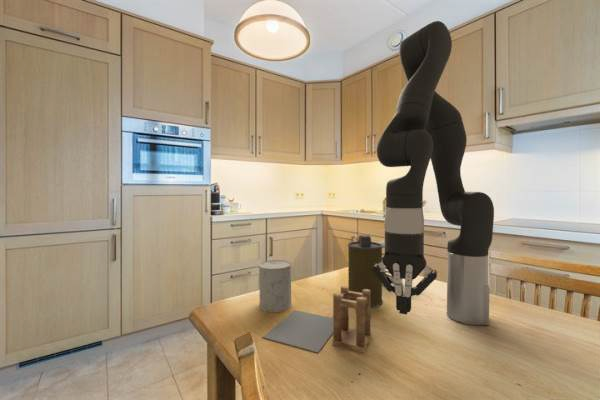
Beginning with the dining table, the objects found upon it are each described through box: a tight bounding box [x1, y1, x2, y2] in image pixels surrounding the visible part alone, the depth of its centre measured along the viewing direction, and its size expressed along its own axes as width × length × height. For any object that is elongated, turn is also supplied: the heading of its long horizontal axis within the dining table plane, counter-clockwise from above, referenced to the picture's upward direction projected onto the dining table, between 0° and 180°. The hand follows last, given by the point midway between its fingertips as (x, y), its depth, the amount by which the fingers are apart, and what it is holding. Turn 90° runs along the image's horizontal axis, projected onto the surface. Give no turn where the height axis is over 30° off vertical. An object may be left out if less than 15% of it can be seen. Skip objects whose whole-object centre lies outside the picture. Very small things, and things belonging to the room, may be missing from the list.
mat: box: [262, 309, 333, 354], centre depth 68 cm, size 14×16×1 cm
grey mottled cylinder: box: [258, 259, 293, 313], centre depth 82 cm, size 10×10×12 cm
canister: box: [347, 234, 384, 308], centre depth 85 cm, size 11×10×20 cm
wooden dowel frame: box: [331, 285, 372, 353], centre depth 63 cm, size 7×7×11 cm
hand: (403, 312), depth 58 cm, fingers closed
